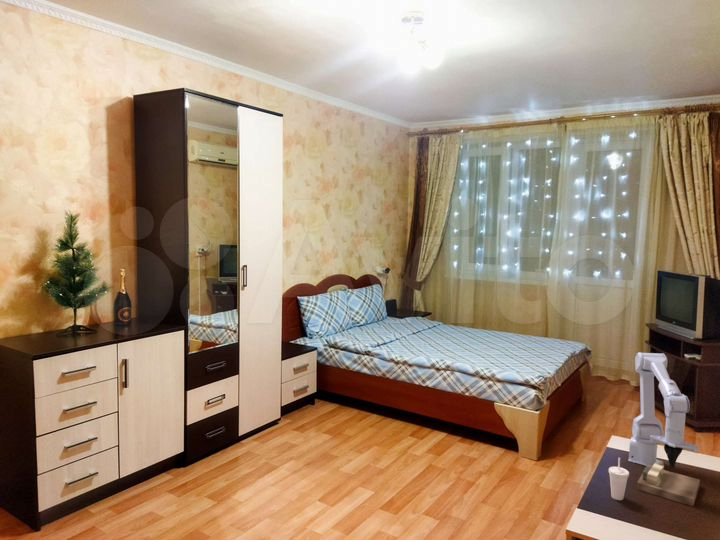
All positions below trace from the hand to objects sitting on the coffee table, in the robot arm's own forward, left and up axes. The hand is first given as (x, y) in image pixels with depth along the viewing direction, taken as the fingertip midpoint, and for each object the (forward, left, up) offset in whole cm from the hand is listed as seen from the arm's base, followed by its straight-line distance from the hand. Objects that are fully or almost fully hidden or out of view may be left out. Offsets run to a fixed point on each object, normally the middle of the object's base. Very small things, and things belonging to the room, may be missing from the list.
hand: (672, 466), depth 181 cm
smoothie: (-13, -17, -10) cm, 23 cm away
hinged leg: (-5, +3, -7) cm, 9 cm away
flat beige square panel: (-1, +2, -9) cm, 10 cm away
